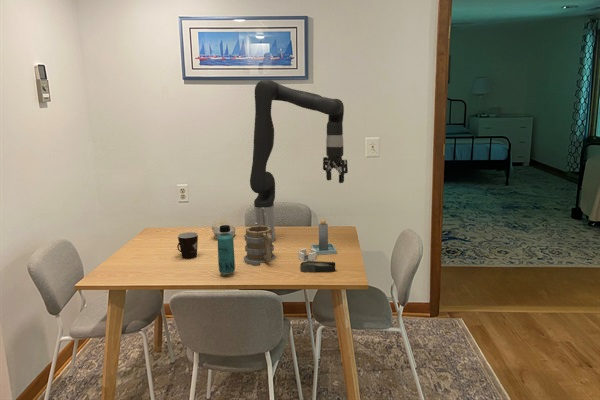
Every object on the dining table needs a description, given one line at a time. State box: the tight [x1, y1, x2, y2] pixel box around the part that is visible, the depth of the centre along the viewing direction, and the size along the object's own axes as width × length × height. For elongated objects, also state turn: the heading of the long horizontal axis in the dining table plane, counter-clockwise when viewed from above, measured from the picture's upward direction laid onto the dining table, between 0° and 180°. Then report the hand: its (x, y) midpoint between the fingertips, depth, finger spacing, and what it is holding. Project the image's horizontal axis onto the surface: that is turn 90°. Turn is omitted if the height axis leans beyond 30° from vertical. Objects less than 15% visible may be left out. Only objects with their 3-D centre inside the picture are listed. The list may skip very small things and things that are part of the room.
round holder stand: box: [297, 247, 318, 262], centre depth 198 cm, size 8×8×4 cm
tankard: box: [243, 225, 277, 266], centre depth 195 cm, size 20×13×15 cm, turn 22°
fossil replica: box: [211, 220, 236, 239], centre depth 232 cm, size 12×8×10 cm
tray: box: [310, 243, 338, 256], centre depth 207 cm, size 10×10×2 cm
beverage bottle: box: [216, 224, 236, 275], centre depth 183 cm, size 6×7×20 cm
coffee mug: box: [176, 231, 199, 260], centre depth 204 cm, size 12×9×10 cm
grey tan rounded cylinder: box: [318, 218, 329, 251], centre depth 205 cm, size 4×4×14 cm
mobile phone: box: [299, 260, 336, 274], centre depth 183 cm, size 5×3×15 cm
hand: (335, 181), depth 210 cm, fingers open, 8 cm apart
